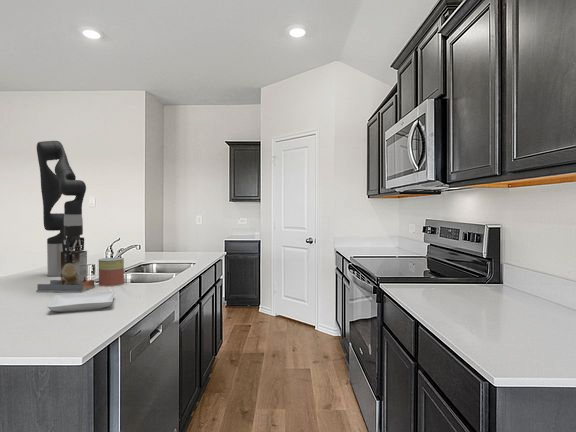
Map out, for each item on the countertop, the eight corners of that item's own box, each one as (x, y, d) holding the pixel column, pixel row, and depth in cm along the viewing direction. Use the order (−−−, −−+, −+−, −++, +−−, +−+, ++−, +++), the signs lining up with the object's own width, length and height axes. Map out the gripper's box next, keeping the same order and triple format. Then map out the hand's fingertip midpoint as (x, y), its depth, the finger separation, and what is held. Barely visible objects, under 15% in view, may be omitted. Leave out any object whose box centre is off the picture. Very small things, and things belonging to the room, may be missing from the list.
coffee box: (59, 287, 184) (59, 251, 183) (68, 284, 190) (68, 250, 190) (79, 288, 183) (79, 252, 182) (87, 285, 189) (87, 250, 189)
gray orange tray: (52, 286, 193) (52, 278, 193) (95, 287, 192) (94, 278, 192) (36, 292, 181) (36, 283, 181) (81, 292, 180) (81, 283, 180)
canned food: (128, 281, 205) (128, 257, 205) (116, 286, 194) (116, 260, 194) (106, 281, 206) (106, 257, 206) (93, 285, 195) (93, 260, 195)
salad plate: (56, 302, 164) (56, 293, 164) (114, 298, 172) (114, 289, 171) (46, 316, 144) (46, 306, 144) (113, 310, 152) (112, 301, 152)
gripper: (74, 223, 193) (74, 259, 193) (55, 225, 179) (56, 264, 179) (89, 223, 193) (90, 259, 193) (72, 225, 178) (73, 264, 179)
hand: (73, 261), depth 186 cm, fingers closed on coffee box, 6 cm apart
